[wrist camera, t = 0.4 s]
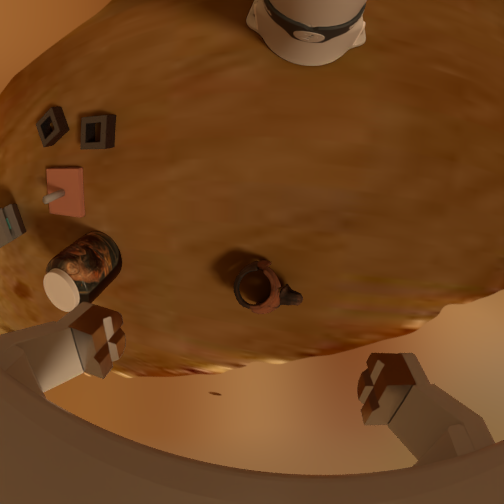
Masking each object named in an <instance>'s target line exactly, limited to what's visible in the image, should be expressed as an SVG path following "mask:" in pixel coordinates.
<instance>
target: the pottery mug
mask: <svg viewBox="0 0 504 504" xmlns="http://www.w3.org/2000/svg"><path fill="white" fill-rule="evenodd" d="M269 265H271V262H270V261H266V260H261V261H255V262H253V263H251V264H249V265H247V266H246V267H244V268H243V269H242V270H241V271H240V273H239V275H238V276H237V277H236V280H235V282H234V293H235V296H236V299H237V300H238V302H239V304H241V305H242V306H243V307H246V308H248V309H249V308H250V309H251V310H252V312H254V313H258V314H264V313H269V312H271V311H274V310H275V309H277V308H278V307H279V306H280V305H299V304H300V303H301V302H302V301H303V297H302V295H301V294H300V293H298V292H296V291H294V290H292V289H291V288H290V287H289V285H288V284H286V286H284V287H283V288H282V289H281V290H280V293H279V291H278V288H280V287H281V284H280V282H279V280H278V277H277V276H276V274H275V273H274V271H273V270H272V269H271V268H270V267H268V266H269ZM258 269H260V270H263V274H264V275H265V276H266V277H267V278H268V279H269V281H270V284H271V292H270V295H269V297H268V299H267V300H266V301H265V302H263V303H260V302H257V303H256V304H255V305H253V304H249V303H247V302H246V301H244V299H243V298H242V297H241V295H240V291H239V285H240V281H241V279H242V278H243V277H244V276H245V275H246V274H247V273H249V272H252V271H257V270H258Z"/></svg>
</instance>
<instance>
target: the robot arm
mask: <svg viewBox="0 0 504 504" xmlns="http://www.w3.org/2000/svg"><path fill="white" fill-rule="evenodd" d="M366 1H367V0H254V2H253V4H252V7H251V9H250V11H249V13H248V16H247V18H246V23H247V25H248V26H249V27H250V28H251V29H253V30H254V31H256V32H257V33H259V34H260V35H261V36H262V38H263V39H264V41H265V43H266V44H267V46H268V47H269V48H270V49H271V50H272V51H273V52H274V53H275V54H277V55H278V56H280V57H281V58H283V59H285V60H287V61H290V62H292V63H295V64H300V65H306V66H317V65H324V64H327V63H330V62H333V61H335V60H336V59H338V58H339V57H341V56H342V55H343V54H344V53H345V52H346V51H347V50H349V49H350V48H354V47H357V46H360V45H362V44H363V43H364V42H365V40H366V35H365V29H364V27H365V22H364V21H363V16H362V15H363V12H364V9H365V5H366ZM254 15H255V17H254ZM122 324H123V319H122V315H121V314H120V313H119V312H117V311H114V310H111V309H108V308H104V307H101V306H98V305H95V304H91V303H88V302H82V303H80V304H79V305H78V306H76V307H75V308H74V309H73V310H71V311H70V312H69V313H68V314H66V315H65V316H64V317H63V318H62V319H60V320H59V321H58V322H54V321H53V322H49V323H45V324H41V325H37V326H33V327H29V328H25V329H21V330H17V331H13V332H9V333H5V334H1V335H0V504H504V440H503V441H500V442H498V443H495V442H494V440H493V438H492V436H491V434H490V432H489V430H488V428H487V426H486V424H485V422H484V420H483V418H482V417H480V416H479V415H478V414H476V413H475V412H473V411H472V410H471V409H469V408H468V407H466V406H465V405H463V404H462V403H460V402H459V401H458V400H456V399H454V398H453V397H452V396H450V395H449V394H448V393H446V392H445V391H443V390H442V389H440V388H439V387H437V386H436V385H434V384H430V382H429V380H428V379H427V376H426V375H425V373H424V371H423V369H422V367H421V365H420V363H419V362H418V359H417V357H416V356H415V355H414V354H413V353H399V354H392V353H371V355H370V356H369V358H368V360H367V366H368V369H366V370H365V371H364V372H362V374H361V376H360V379H359V382H358V388H357V392H358V399H359V400H360V401H361V402H362V403H363V404H364V405H363V407H362V409H361V413H362V417H363V422H364V425H388V427H389V428H390V429H391V430H392V431H393V433H394V434H395V435H396V436H397V437H398V438H399V439H400V440H401V442H402V443H403V444H404V445H405V446H406V447H407V448H408V449H409V451H410V452H411V453H412V454H413V455H414V456H415V457H416V458H417V459H418V461H417V463H416V464H415V465H413V466H412V467H410V468H403V469H397V470H390V471H382V472H373V473H361V474H346V475H298V474H282V473H270V472H261V471H252V470H245V469H239V468H233V467H227V466H222V465H216V464H211V463H207V462H202V461H198V460H194V459H190V458H186V457H182V456H178V455H175V454H171V453H168V452H164V451H161V450H158V449H155V448H152V447H149V446H146V445H143V444H140V443H138V442H135V441H132V440H129V439H127V438H124V437H122V436H119V435H117V434H115V433H112V432H110V431H107V430H105V429H103V428H100V427H98V426H96V425H94V424H92V423H90V422H88V421H86V420H84V419H82V418H80V417H78V416H76V415H74V414H72V413H70V412H68V411H66V410H64V409H63V408H61V407H59V406H57V405H56V404H54V403H52V402H50V401H48V400H47V399H46V397H45V395H44V393H43V392H45V391H47V390H49V389H51V388H53V387H55V386H57V385H60V384H61V383H63V382H65V381H68V380H70V379H72V378H74V377H76V376H78V375H80V374H82V373H84V372H87V373H89V374H92V375H95V376H97V377H100V378H103V379H104V378H105V377H106V375H107V374H108V373H109V371H110V370H111V369H112V368H113V364H112V362H113V361H115V360H118V359H119V358H120V357H121V356H122V354H123V352H124V349H125V345H126V338H125V333H124V332H123V331H122V329H121V328H120V327H121V326H122Z"/></svg>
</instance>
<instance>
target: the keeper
mask: <svg viewBox="0 0 504 504" xmlns="http://www.w3.org/2000/svg"><path fill="white" fill-rule="evenodd" d="M46 171H47V188H48V195H46V196H44V197H43V202H44V204H47V203H49V209H50V214H58V215H66V216H73V217H83V216H85V207H84V192H83V168H78V167H66V168H48V169H46Z"/></svg>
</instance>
